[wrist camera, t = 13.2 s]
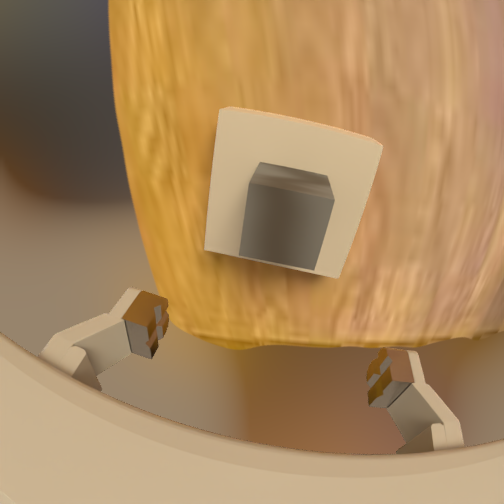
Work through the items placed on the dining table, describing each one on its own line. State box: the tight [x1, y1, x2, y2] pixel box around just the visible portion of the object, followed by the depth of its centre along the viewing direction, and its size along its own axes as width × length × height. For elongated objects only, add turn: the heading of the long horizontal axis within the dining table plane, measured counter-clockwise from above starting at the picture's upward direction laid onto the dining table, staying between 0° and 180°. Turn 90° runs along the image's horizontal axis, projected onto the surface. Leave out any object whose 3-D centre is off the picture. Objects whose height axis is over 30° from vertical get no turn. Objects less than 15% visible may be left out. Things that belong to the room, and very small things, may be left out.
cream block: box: [204, 106, 383, 279], centre depth 23 cm, size 12×12×4 cm
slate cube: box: [239, 162, 335, 270], centre depth 20 cm, size 5×5×5 cm
